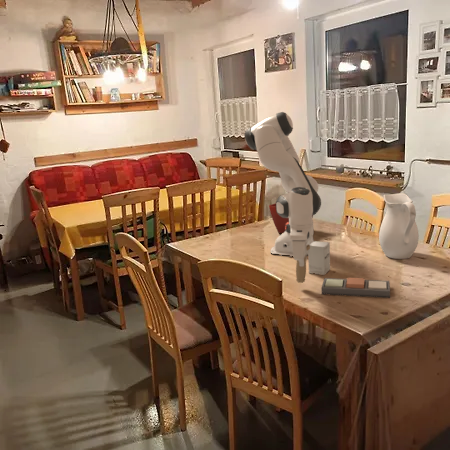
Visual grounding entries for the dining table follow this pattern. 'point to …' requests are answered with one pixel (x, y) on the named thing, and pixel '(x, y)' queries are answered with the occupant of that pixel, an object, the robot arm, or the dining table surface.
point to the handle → (301, 270)
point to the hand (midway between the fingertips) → (302, 263)
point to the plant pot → (278, 219)
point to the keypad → (356, 290)
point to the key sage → (334, 283)
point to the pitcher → (399, 227)
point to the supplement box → (319, 257)
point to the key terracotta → (355, 283)
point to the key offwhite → (377, 285)
